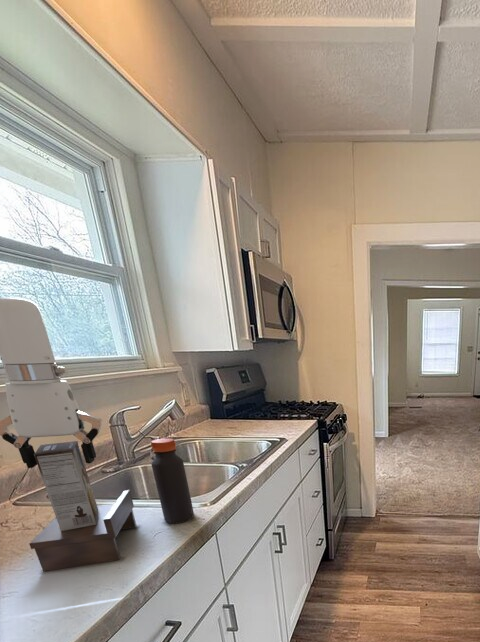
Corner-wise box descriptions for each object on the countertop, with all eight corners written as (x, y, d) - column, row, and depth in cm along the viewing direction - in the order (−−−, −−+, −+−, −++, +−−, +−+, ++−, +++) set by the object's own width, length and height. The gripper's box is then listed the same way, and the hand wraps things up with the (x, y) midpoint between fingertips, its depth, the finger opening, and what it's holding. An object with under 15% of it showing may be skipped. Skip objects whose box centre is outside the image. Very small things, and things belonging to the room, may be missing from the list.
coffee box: (64, 516, 87) (39, 444, 81) (99, 510, 90) (78, 440, 84) (60, 532, 80) (32, 453, 74) (98, 525, 83) (75, 449, 77)
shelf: (40, 571, 78) (23, 529, 74) (71, 534, 94) (58, 497, 90) (122, 559, 82) (110, 518, 79) (139, 525, 98) (129, 489, 94)
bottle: (181, 511, 106) (165, 436, 98) (200, 515, 103) (185, 438, 95) (158, 521, 100) (139, 442, 92) (177, 526, 97) (159, 445, 90)
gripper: (94, 371, 80) (116, 455, 86) (-15, 374, 74) (18, 463, 81) (82, 374, 73) (107, 464, 80) (-38, 376, 68) (0, 473, 74)
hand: (62, 464), depth 80 cm, fingers open, 9 cm apart
